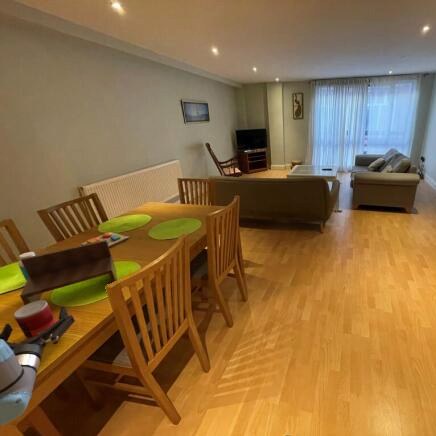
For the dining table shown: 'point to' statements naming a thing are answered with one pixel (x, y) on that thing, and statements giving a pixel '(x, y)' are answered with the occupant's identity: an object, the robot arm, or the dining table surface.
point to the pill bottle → (22, 264)
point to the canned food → (34, 318)
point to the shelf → (66, 269)
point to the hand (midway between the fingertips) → (37, 317)
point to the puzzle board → (107, 239)
